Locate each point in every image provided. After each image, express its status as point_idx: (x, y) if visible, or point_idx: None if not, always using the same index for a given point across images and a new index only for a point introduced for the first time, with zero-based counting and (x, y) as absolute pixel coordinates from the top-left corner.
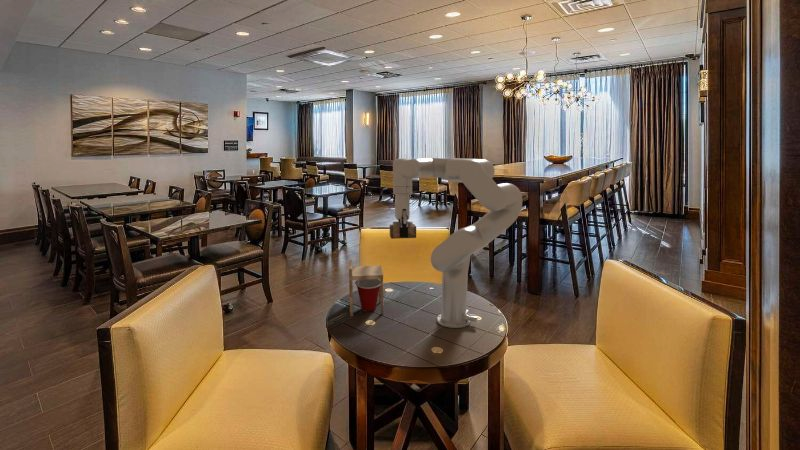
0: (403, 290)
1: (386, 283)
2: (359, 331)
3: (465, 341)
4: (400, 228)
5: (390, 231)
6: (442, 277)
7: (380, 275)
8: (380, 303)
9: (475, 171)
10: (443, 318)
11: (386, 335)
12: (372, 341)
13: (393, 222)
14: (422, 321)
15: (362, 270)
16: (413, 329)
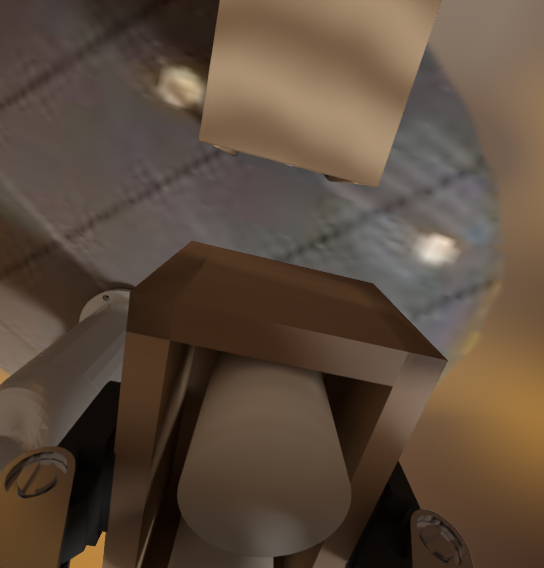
0: (406, 292)
1: (501, 263)
2: (115, 21)
3: (8, 304)
4: (94, 429)
5: (263, 282)
6: (41, 380)
7: (201, 123)
8: (327, 177)
9: None
10: (109, 305)
11: (70, 109)
12: (33, 46)
13: (242, 439)
14: (148, 253)
15: (328, 34)
16: (99, 207)
